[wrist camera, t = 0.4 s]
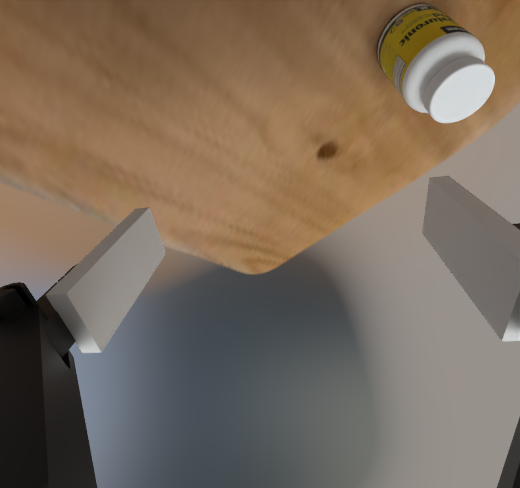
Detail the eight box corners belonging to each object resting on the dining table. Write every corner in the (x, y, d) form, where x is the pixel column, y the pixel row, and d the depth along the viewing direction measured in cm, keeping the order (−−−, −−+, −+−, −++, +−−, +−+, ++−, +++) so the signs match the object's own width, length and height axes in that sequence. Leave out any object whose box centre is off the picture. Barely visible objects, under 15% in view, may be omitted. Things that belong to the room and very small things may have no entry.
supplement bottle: (448, -9, 24) (524, 40, 18) (434, 63, 28) (492, 122, 22) (377, 13, 25) (427, 67, 19) (373, 80, 29) (413, 141, 23)
